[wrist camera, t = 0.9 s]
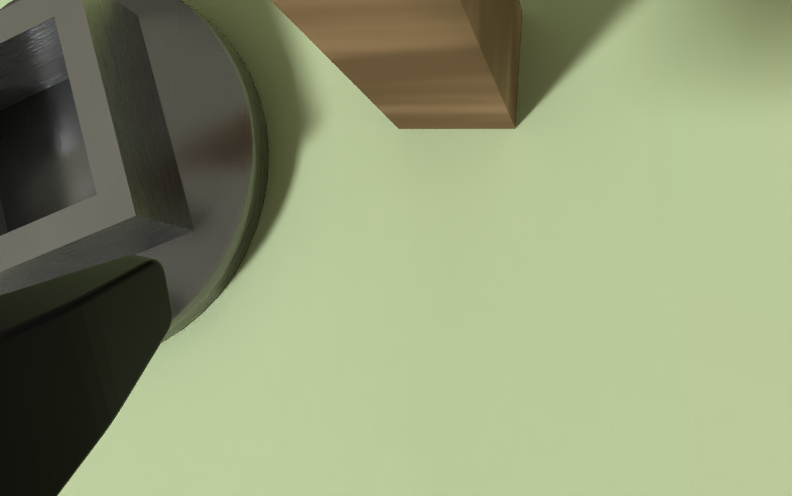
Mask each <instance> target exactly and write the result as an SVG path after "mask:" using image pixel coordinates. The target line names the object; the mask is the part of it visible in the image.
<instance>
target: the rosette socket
mask: <svg viewBox="0 0 792 496" xmlns="http://www.w3.org/2000/svg"><path fill="white" fill-rule="evenodd" d="M267 176H268V141H267V130H266V123H265V118H264V114H263V109H262V105H261V101H260V98H259V95H258V93H257V90H256V87H255V85H254V82H253V79H252V77H251V75H250V74H249V72H248V70H247V68H246V66H245V64H244V62H243V60H242V59H241V57H240V56H239V55H238V53H237V52H236V51H235V49H234V48H233V47H232V45H231V44H230V42H229V41H228V40H227V39H226V38H225V37H224V36H223V35H222V34H221V33H220V32H219V31H218V30H217V29H216V28H215V27H214V26H213V25H212V24H210V23H209V22H208V21H207V20H205V19H204V18H203V17H202V16H200V15H199V14H198V13H196V12H195V11H194V10H193V9H191V8H190V7H189V6H187V5H186V4H185V3H183V2H182V1H181V0H13V1H11V2H9V3H8V4H7V5H5V6H4V7H3V8H1V9H0V295H2V294H5V293H8V292H12V291H15V290H18V289H21V288H24V287H28V286H31V285H34V284H37V283H40V282H44V281H47V280H50V279H53V278H56V277H60V276H63V275H66V274H69V273H72V272H76V271H79V270H82V269H85V268H88V267H91V266H95V265H98V264H101V263H104V262H107V261H111V260H114V259H117V258H120V257H123V256H127V255H138V256H142V257H147V258H152V259H156V260H157V261H159V262H160V263H161V264H162V266H163V267H164V270H165V274H166V279H167V284H168V290H169V295H170V300H171V305H172V312H173V313H172V322H171V325H170V328H169V330H168V332H167V334H166V335H165V337H164V339H163V340H162V342H163V341H165V340H167V339H168V338H170V337H171V336H173V335H175V334H176V333H178V332H179V331H181V330H182V329H184V328H185V327H186V326H187V325H189V324H190V323H191V322H192V321H193V320H195V319H196V318H197V317H198V316H199V315H201V314H202V313H203V312H204V310H205V309H206V308H207V307H208V306H209V305H210V304H211V303H212V302H213V301H214V300H215V299H216V298H217V297H218V295H219V294H220V293H221V291H222V290H223V289H224V287H225V286H226V285H227V283H228V282H229V280H230V279H231V278H232V276H233V275H234V273H235V271H236V270H237V268H238V266H239V264H240V262H241V261H242V259H243V257H244V255H245V253H246V252H247V249H248V247H249V244H250V242H251V240H252V237H253V235H254V232H255V230H256V227H257V224H258V220H259V217H260V213H261V209H262V206H263V202H264V196H265V190H266V183H267ZM162 342H161V343H162Z"/></svg>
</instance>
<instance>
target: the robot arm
mask: <svg viewBox="0 0 792 496" xmlns="http://www.w3.org/2000/svg"><path fill="white" fill-rule="evenodd" d="M172 313H173V312H172V305H171V300H170V295H169V290H168V284H167V279H166V274H165V270H164V267H163V266H162V264H161V263H160V262H159V261H157V260H156V259H152V258H147V257H142V256H138V255H127V256H123V257H120V258H117V259H114V260H111V261H107V262H104V263H101V264H98V265H95V266H91V267H88V268H85V269H82V270H79V271H76V272H72V273H69V274H66V275H63V276H60V277H56V278H53V279H50V280H47V281H44V282H40V283H37V284H34V285H31V286H28V287H24V288H21V289H18V290H15V291H12V292H8V293H5V294H2V295H0V496H58V494H59V493H60V492H61V490H62V489H63V488H64V486H65V485H66V484H67V482H68V481H69V480H70V478H71V477H72V476H73V474H74V473H75V472H76V470H77V469H78V468H79V466H80V465H81V464H82V462H83V461H84V460H85V458H86V457H87V456H88V454H89V453H90V452H91V450H92V449H93V448H94V446H95V445H96V444H97V442H98V441H99V440H100V438H101V437H102V436H103V434H104V433H105V432H106V430H107V429H108V427H109V426H110V425H111V423H112V422H113V420H114V419H115V417H116V415H117V414H118V412H119V411H120V409H121V408H122V406H123V405H124V403H125V401H126V400H127V398H128V396H129V395H130V393H131V391H132V390H133V388H134V386H135V385H136V383H137V381H138V380H139V378H140V377H141V375H142V373H143V372H144V370H145V368H146V367H147V365H148V363H149V362H150V360H151V358H152V357H153V355H154V353H155V352H156V350H157V349H158V347H159V345H160V344H161V342H162V340H163V339H164V337H165V335H166V334H167V332H168V330H169V328H170V325H171V322H172Z"/></svg>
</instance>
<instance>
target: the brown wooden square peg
mask: <svg viewBox="0 0 792 496" xmlns="http://www.w3.org/2000/svg"><path fill="white" fill-rule="evenodd" d="M271 1H272V2H273V3H274V4H275V5H276V6H277V7H278V8H279V9H280V10H281V11H282V12H283V13H284V14H285V15H286V16H287V17H288V18H289V19H290V20H291V21H292V22H293V23H294V24H295V25H296V26H297V27H298V28H299V29H300V30H301V31H302V32H303V33H304V34H305V35H306V36H307V37H308V38H309V39H310V40H311V41H312V42H313V43H314V44H315V45H316V46H317V47H318V48H319V49H320V50H321V51H322V52H323V53H324V54H325V55H326V56H327V57H328V58H329V59H330V60H331V61H332V62H333V63H334V64H335V65H336V66H337V67H338V68H339V69H340V70H341V71H342V72H343V73H344V74H345V75H346V76H347V77H348V78H349V79H350V80H351V81H352V82H353V83H354V84H355V85H356V86H357V87H358V88H359V89H360V90H361V91H362V92H363V93H364V94H365V95H366V96H367V97H368V98H369V99H370V100H371V101H372V102H373V103H374V104H375V105H376V106H377V107H378V108H379V109H380V110H381V111H382V112H383V113H384V114H385V115H386V116H387V117H388V118H389V119H390V120H391V121H392V122H393V123H394V124H395V125H396V126H397V127H398V128H399V129H515V123H516V106H517V88H518V71H519V54H520V36H521V19H522V10H521V6H520V2H519V0H271Z"/></svg>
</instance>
